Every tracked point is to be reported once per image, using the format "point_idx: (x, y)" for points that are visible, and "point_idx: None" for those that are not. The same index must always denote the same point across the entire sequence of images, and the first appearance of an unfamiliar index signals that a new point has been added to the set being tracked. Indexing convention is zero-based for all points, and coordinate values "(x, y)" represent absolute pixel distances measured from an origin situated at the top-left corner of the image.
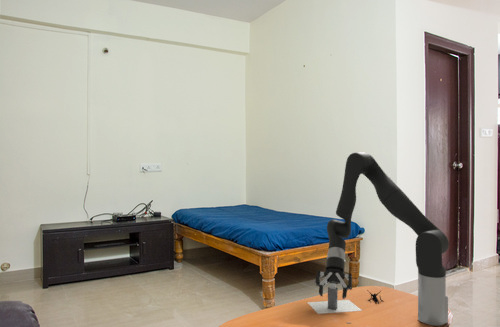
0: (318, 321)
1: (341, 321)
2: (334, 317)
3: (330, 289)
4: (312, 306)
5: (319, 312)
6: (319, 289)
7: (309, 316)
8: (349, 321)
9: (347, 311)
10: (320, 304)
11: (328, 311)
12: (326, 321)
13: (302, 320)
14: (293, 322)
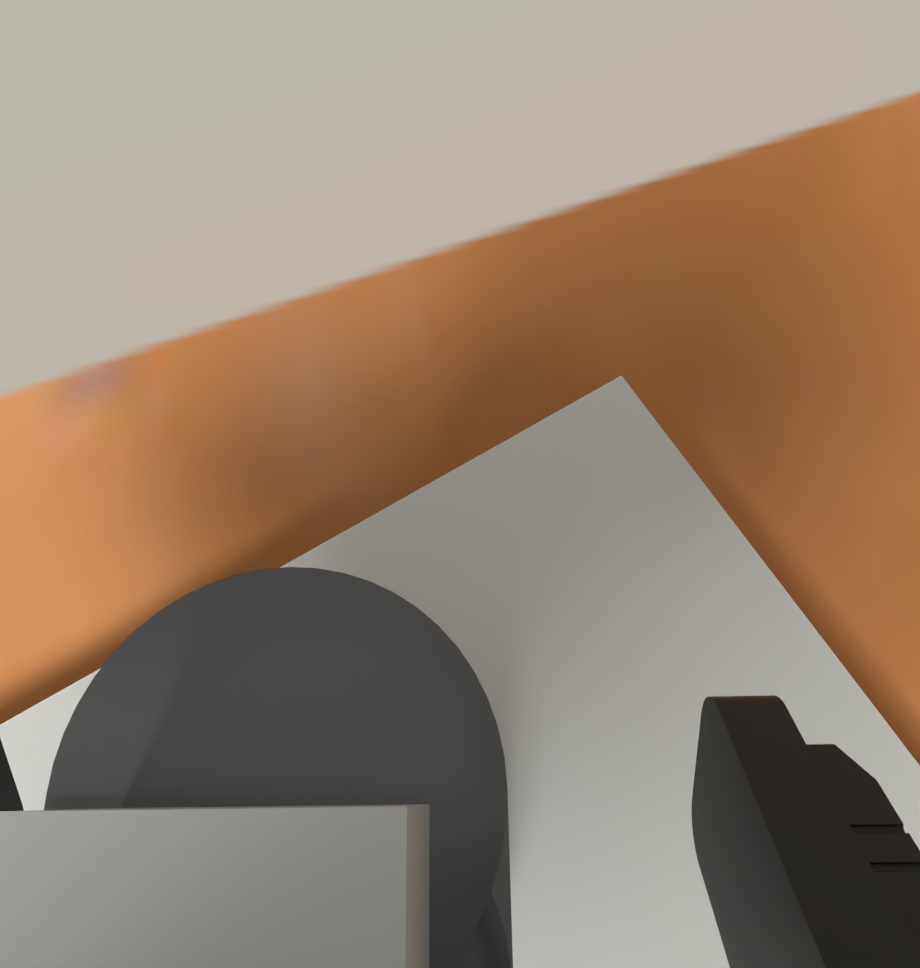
0: (563, 244)
1: (205, 364)
2: (328, 484)
3: (365, 675)
4: (851, 721)
5: (610, 439)
6: (913, 878)
7: (758, 374)
8: (72, 409)
9: (50, 702)
10: (714, 953)
11: (447, 556)
12: (442, 285)
13: (807, 197)
14: (901, 98)
